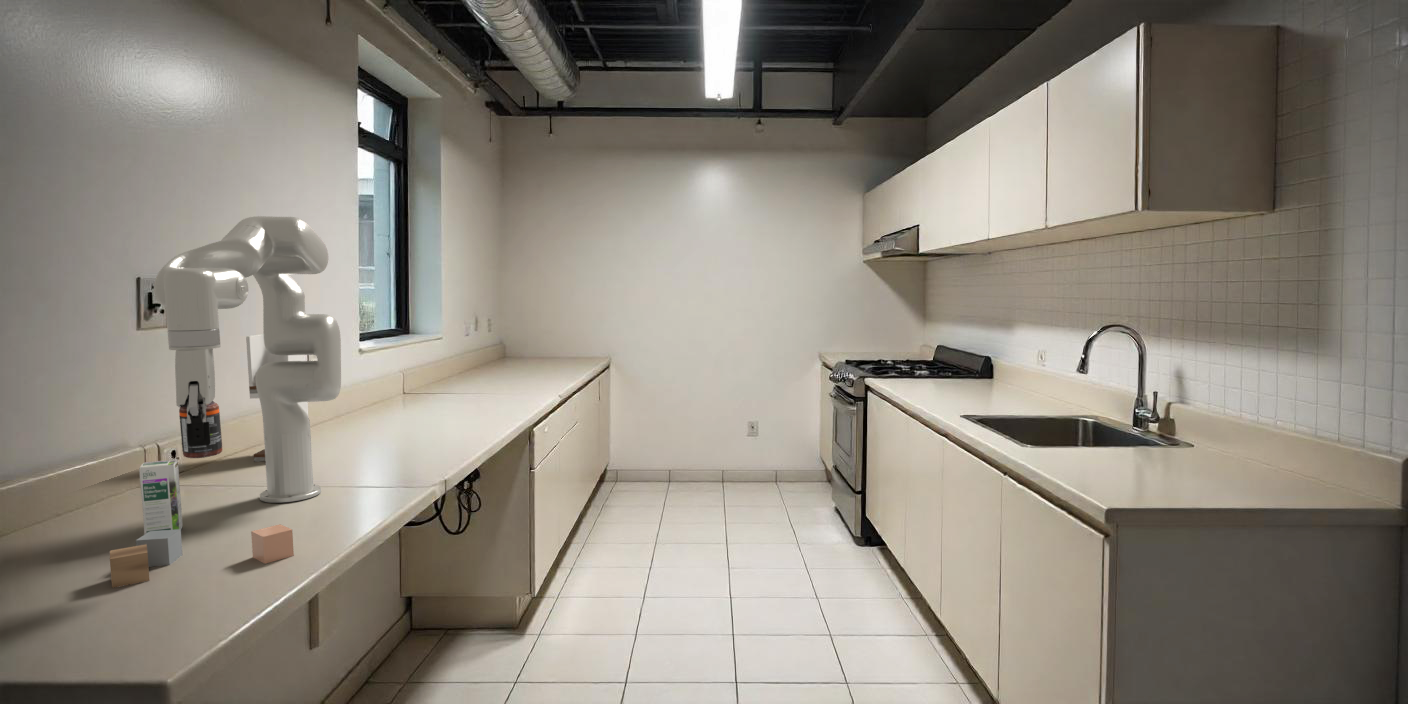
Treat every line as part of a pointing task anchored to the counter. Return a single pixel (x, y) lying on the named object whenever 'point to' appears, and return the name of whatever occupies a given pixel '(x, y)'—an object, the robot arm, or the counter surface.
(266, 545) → the terracotta block
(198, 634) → the counter surface
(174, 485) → the syrup box
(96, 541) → the counter surface
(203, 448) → the supplement bottle
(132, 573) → the walnut block
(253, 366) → the display case
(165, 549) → the slate grey block
